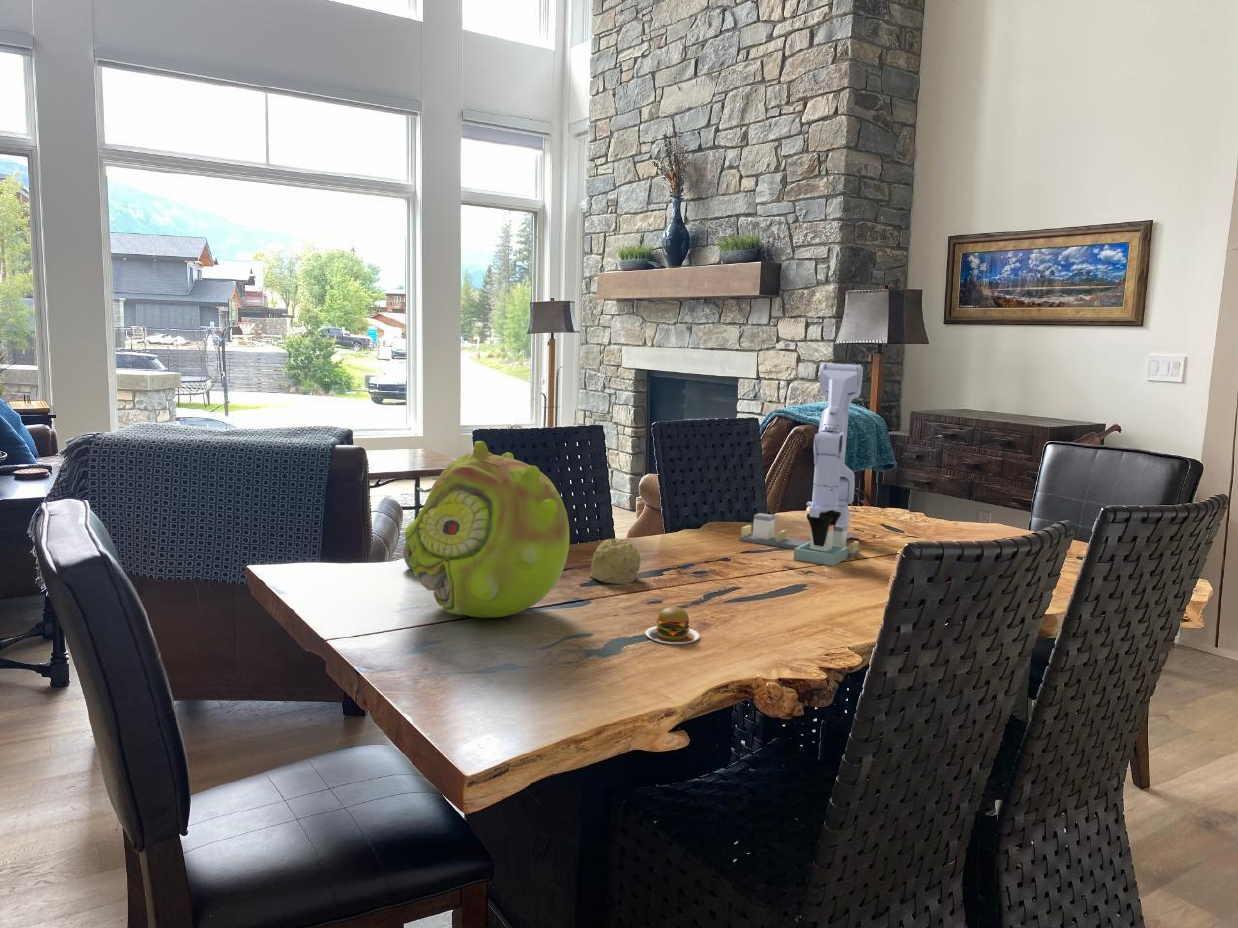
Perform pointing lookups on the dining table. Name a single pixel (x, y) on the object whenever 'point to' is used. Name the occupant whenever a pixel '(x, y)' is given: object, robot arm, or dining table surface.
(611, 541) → the rock
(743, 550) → the dining table surface
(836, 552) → the tray
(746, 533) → the block
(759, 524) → the block
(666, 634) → the hamburger
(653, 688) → the dining table surface
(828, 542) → the block
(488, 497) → the monster head
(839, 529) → the block
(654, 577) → the dining table surface
